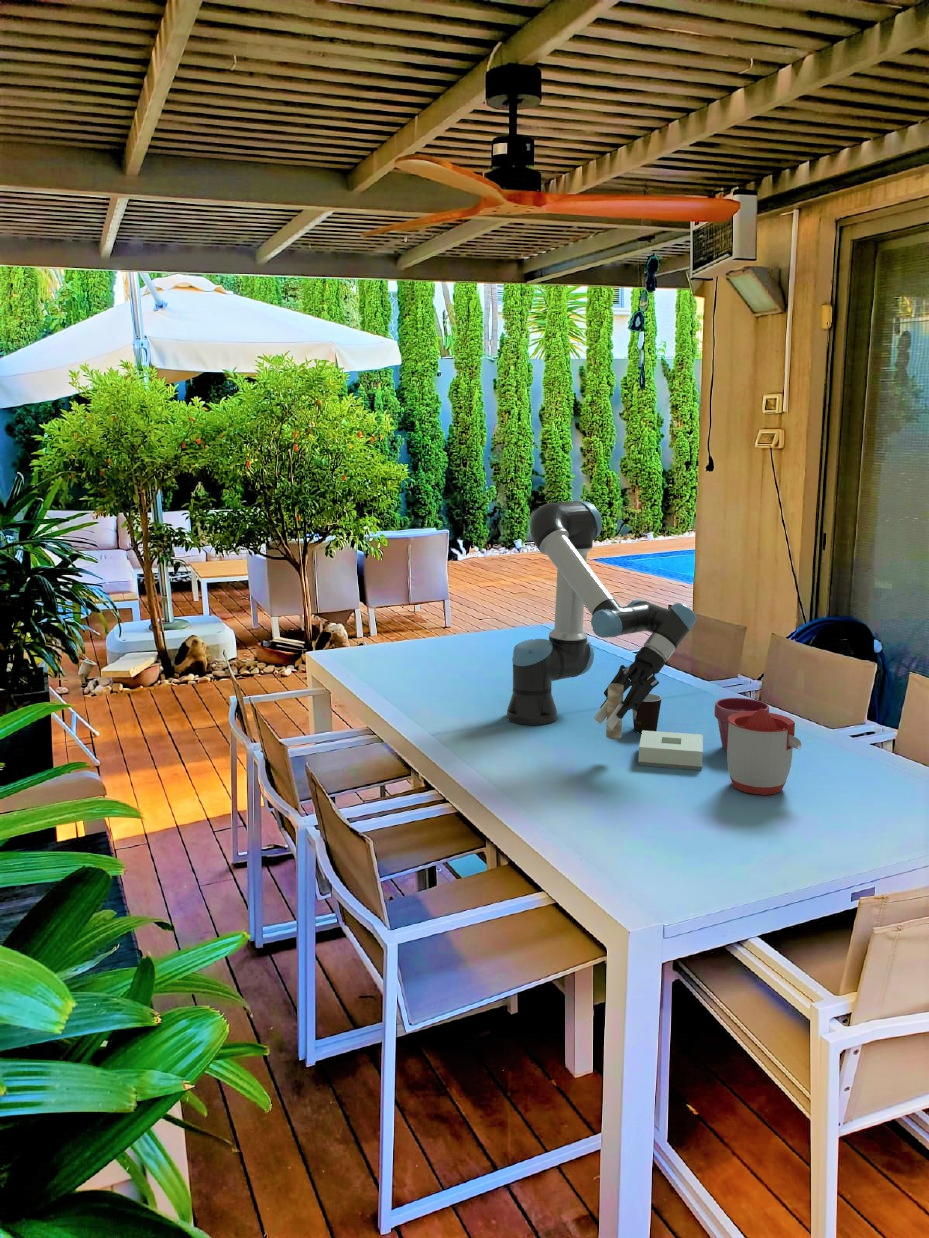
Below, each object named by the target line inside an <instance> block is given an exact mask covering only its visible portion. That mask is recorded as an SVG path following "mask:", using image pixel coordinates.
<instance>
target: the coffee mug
mask: <svg viewBox="0 0 929 1238" xmlns="http://www.w3.org/2000/svg"><path fill="white" fill-rule="evenodd" d="M662 700H663V699H662V696H660V695H658V694H655V693H649V694H648V695H647V697H646V698H645V699H644V701H643V702H642V703H641V704H640V706H639V707H638V708H637V709H636V710H634V709H631V711H632V712H631V713H632V721H633V722H632V723H633V731H634V732H635V733H637V732H639V733H638V734H641V733H642V730H644V731H658V724H659V723H658V722H659V716H660V710H661V705H662Z"/></svg>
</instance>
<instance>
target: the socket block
mask: <svg viewBox="0 0 929 1238" xmlns="http://www.w3.org/2000/svg"><path fill="white" fill-rule="evenodd" d="M640 734H641V733H640ZM703 741H704V739H703V734H701V733H700V734H699V733H697V734H696V733H686V732H685V733H684V732H672V731H670V732H668V731H659V730H657V731H644V730H642V734H641V735H640V740H639V746H638V764H637V765H638V766H644V767H654V768H655V767H656V768H666V767H667V768H669V769H678V770H679V769H682V770H695V771H702V770H703V769H702V768H703V753H704V751H703V748H704V747H703V745H704V744H703V743H704V742H703Z"/></svg>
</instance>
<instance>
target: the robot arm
mask: <svg viewBox="0 0 929 1238" xmlns="http://www.w3.org/2000/svg"><path fill="white" fill-rule="evenodd" d="M529 525H530V526H529V531H530V535H531V538H532V539H531V540H532V541H533V543H534V545H535V547H536V548H537V550H538V551H539V552H540V553H541V554H542V555H545V556H547V557H548V558H549V560H550V561H551V562H552V563H553V565H554V566H555V567H556V569H557V572H556V573H557V574H556V588H555V589H556V590H555V591H556V592H555V607H554V608H555V609H554V610H555V611H554V626H553V627H554V628H553V629H552V630H551V631H549V632H548V639H546V638H535V639H527V640H525V639H524V640H522V641H520V642H518V643H516V645H515V646H514V647H513V652H512V658H511V659H512V694H511V697H510V700H509V703H508V706H507V708H506V719H507V720H508V721H509V722H512V723H515V724H518V725H524V726H536V725H537V726H540V725H541V726H542V725H547V724H551V723H555V722H556V720H557V718H558V710H557V706H556V704H555V701H554V697H553V695H552V683H553V682H554V681H555V682H556V681H558V680H564V679H569V678H576V677H578V676H582V675H584V674H586V673H587V672H589V670H590V669H591V668H592V666H593V663H594V659H595V651H594V647H592V646H593V645H592V643H591V641H590V640H589V639H588V634H587V633H586V632H585V631H584V629H583V626H584V611H585V610H584V609H585V608H586V609H587V611H588V612H589V613H590V614H591V619H590V625H591V627H592V631H593V633H594V634H595V635H596V636H597V637H599V638H603V639H604V638H605V639H607V638H616V637H618V636H623V635H629V634H636V633H642V632H649V633H651V634H650V636H649V637H648V638H647V639H646V640H645V642H644V644H643V646H642V647H641V648H640V649H639V651H638V652H637V653H636V654H635V656H634V662H633V663H631V664H630V665H629V666H625V665H624V664H621V665H620V666H619V669H618V671H617V673H616V674H615V676H614V678H612V680H611V681H610V683H609V684H613V683H617V684H622V685H624V692H623V694H625V692H626V691H627V690H628V689H629V688H630V689H629V691H628V693H627V694H626V696H625V698H624V699H623V701H621V703H622V704H623V705H622V704H619V705H618V706H617V707H616V709H615V710H614V711H613V713H612V714H611V716H610V717H609V718H608V720H607V702H608V686H607V688H606V689H605V690H604V692H603V695H604V697H606V698H605V700H604V702H603V703H602V704H601V706H600V708H599V710H598V711H597V712H596V714H595V715H594V717H593V719H594V720H595V722H597V723H598V724H599V725H602V723H603V722H604V721H605V720H606V721H605V723H604V724H605V726H606V725H607V726H608V727H609V728H610V729H613V728H614V727H615V725H616V724H617V723H618V721H619V720H620V719H622V720H623V718H624V717H625V715H626V714H627V712H628V711H631V710H632V709H634V710H636V709H637V708H638V707H639V706H640V704H641V703H642V702H643V701H644V699H645V698H646V697H647V695H648V694H651V691H652V690H653V689H655V688H656V686H658V685H659V683H660V681H659V680H658V679H657V677H656V674H659V673H660V672H661V670H662V669H663V668H664V667H665V664H666V662H667V661H669V659H670V657H671V656H672V655H673V654H674V652H675V651H676V650H677V648H678V647H679V645H680V644H681V642H683V640H684V639H685V638H686V636H687V635H688V634H689V632H691V630H692V628H693V627H694V625H695V623H696V622H697V614H696V613H695V612H694V611H693V610H692V609H691V608H690V607H689V606H687V605H686V604H684V603H681V602H676V603H673V605H672V606H670V608H666V607H662V606H660V605H656V604H655V603H651V602H649V601H646V600H642V599H634V600H632V601H631V602H630V603H628V604H627V605H625V606H620V604H619V603H618V601H617V600H616V599H615V598H614V596H613V595H612V594H611V593H610V591H609V590H608V589H607V587H606V586H605V584H603V582H602V581H601V580H600V578H599V577H598V575H597V574H596V573H595V572H594V570H593V569H592V568H591V566H590V565H589V564H588V563H587V559H588V558H587V556H588V553H589V552H590V551H591V550H592V549H593V542H594V540H595V539H597V538H598V536H599V535H600V534H601V531H602V529H603V520H602V516H601V513H600V512H599V510H598V509H597V507H596V506H595V505H594V504H593V503H592V502H589V501H584V500H571V501H562V502H548V503H546V504H543V505H541V506H540V507H538V508H537V509H536V510H535V512H534V513H533V514H532V517H531V519H530V524H529Z"/></svg>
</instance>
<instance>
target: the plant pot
mask: <svg viewBox="0 0 929 1238" xmlns="http://www.w3.org/2000/svg"><path fill="white" fill-rule="evenodd" d="M759 709H764V710H765V711H766V712H768V713H770V705H769V704H768V703H766V702H765V701H761V700H758V699H752V698H744V697H726V698H721V699H718V700H716V702H715V703H714V717H715V718H716V719H717V724H718V729H719V730H718V731H719V737H720V741H721V746H722V749H723V750H724V751H726V752H727V744H728V725H729V722H728V717H729V716H730V715H732V714H734V713H739V712H749V711H758V710H759Z"/></svg>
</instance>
